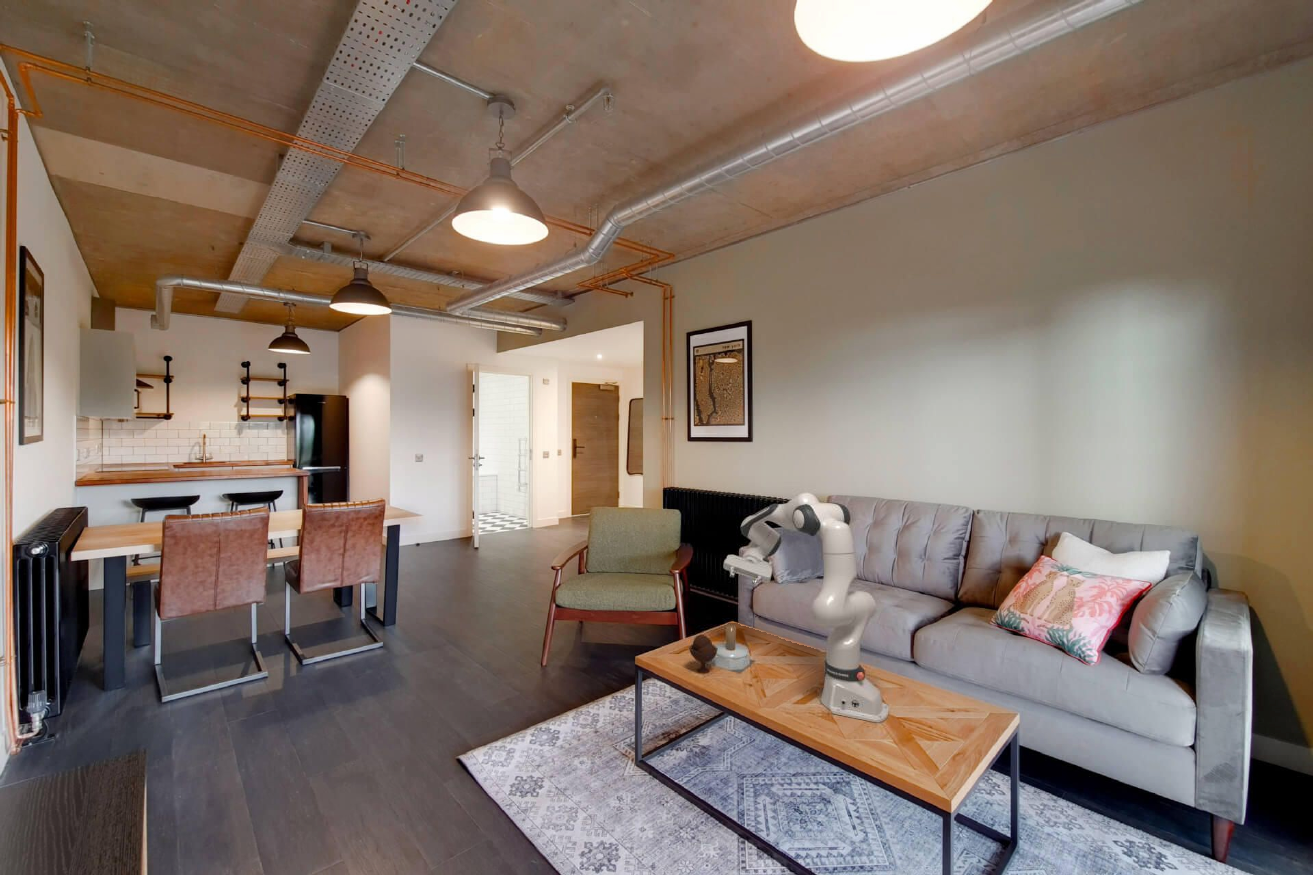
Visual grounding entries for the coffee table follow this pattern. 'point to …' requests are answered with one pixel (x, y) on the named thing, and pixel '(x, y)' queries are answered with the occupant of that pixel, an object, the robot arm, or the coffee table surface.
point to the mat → (733, 670)
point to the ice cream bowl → (703, 652)
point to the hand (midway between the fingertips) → (742, 579)
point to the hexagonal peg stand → (731, 652)
